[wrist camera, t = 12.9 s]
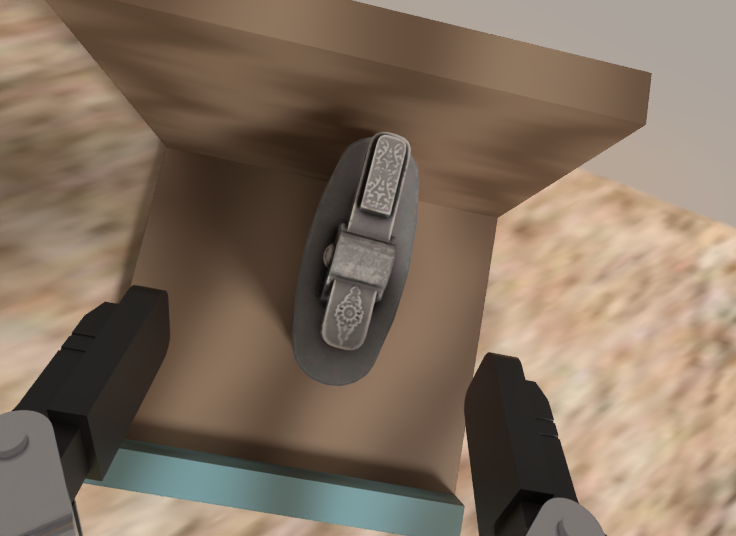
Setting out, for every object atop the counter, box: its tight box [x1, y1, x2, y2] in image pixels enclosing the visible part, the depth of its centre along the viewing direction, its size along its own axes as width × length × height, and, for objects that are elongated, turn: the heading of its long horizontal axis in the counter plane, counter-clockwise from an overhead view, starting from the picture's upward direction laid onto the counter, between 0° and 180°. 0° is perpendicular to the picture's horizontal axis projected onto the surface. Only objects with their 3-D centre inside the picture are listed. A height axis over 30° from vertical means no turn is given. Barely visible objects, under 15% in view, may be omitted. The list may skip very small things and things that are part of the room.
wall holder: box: [46, 0, 651, 536], centre depth 18 cm, size 16×16×12 cm
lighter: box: [292, 132, 419, 386], centre depth 18 cm, size 8×3×10 cm, turn 166°
